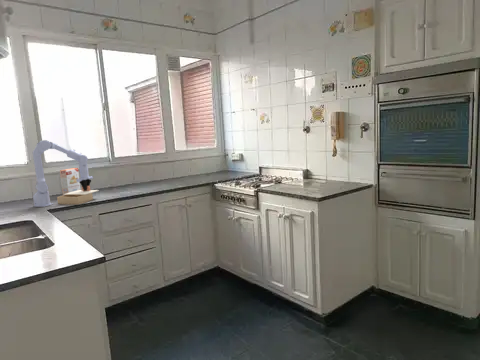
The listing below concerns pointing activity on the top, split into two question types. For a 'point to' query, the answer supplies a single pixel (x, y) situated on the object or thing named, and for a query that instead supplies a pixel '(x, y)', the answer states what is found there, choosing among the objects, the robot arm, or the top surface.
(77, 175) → the cracker box
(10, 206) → the top surface
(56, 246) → the top surface
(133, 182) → the top surface
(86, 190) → the lid
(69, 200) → the wooden drawer
